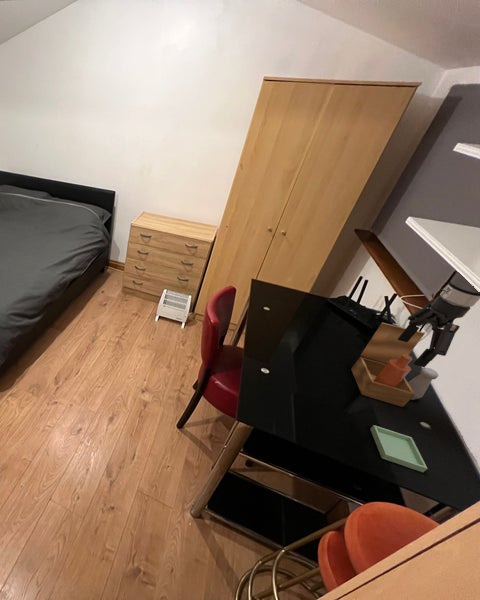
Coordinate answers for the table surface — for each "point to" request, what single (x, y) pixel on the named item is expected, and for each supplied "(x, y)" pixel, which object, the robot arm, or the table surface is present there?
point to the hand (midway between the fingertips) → (410, 352)
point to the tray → (398, 448)
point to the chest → (366, 374)
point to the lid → (389, 343)
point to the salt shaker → (422, 382)
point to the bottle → (394, 371)
